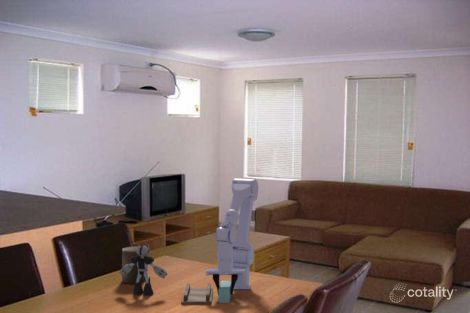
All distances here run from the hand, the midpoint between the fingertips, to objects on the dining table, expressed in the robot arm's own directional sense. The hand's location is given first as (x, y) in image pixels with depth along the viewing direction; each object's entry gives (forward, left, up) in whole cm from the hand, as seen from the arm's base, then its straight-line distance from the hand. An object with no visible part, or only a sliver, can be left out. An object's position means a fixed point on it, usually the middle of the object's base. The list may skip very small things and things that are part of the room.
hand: (225, 293), depth 191 cm
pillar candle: (-22, -39, -2) cm, 45 cm away
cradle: (-1, -10, -1) cm, 11 cm away
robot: (-5, -32, -2) cm, 32 cm away
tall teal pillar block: (0, 0, -2) cm, 2 cm away
